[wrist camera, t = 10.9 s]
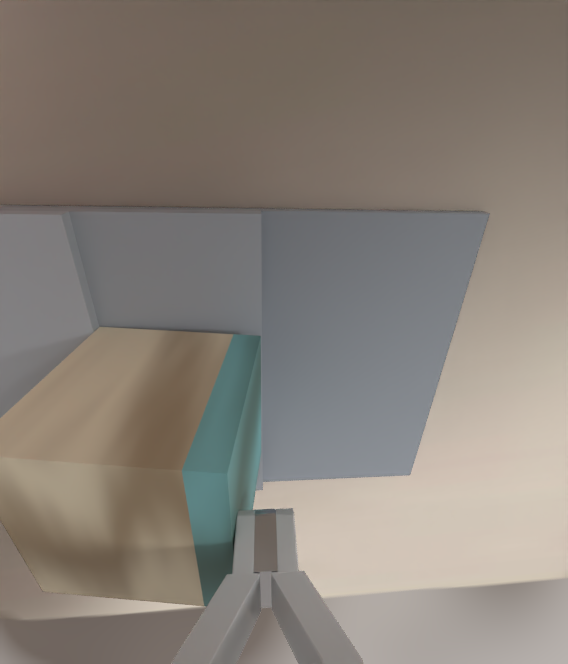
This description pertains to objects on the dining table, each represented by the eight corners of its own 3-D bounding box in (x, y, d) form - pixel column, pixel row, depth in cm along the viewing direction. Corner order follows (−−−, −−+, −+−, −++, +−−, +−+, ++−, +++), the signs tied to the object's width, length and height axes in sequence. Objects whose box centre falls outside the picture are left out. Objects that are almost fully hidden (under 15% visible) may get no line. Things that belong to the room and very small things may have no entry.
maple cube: (260, 335, 13) (99, 326, 13) (227, 473, 8) (-39, 454, 8) (261, 452, 16) (129, 442, 16) (237, 608, 11) (42, 591, 11)
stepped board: (-243, 201, 11) (-303, 210, 10) (483, 211, 13) (506, 219, 12) (-48, 488, 18) (-70, 514, 17) (407, 469, 20) (417, 491, 19)
